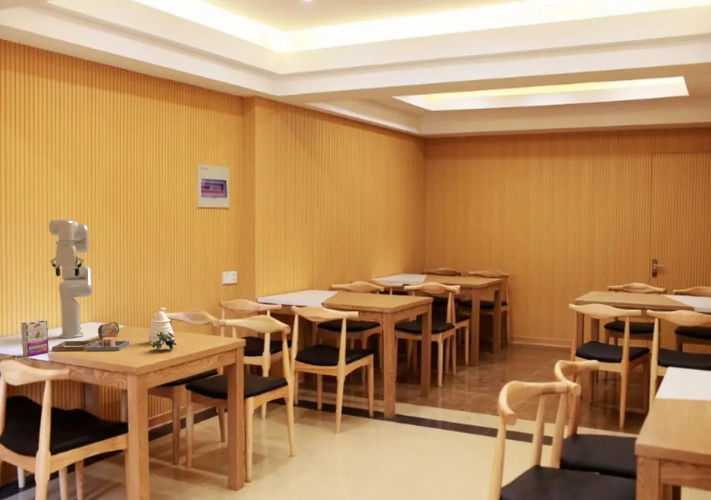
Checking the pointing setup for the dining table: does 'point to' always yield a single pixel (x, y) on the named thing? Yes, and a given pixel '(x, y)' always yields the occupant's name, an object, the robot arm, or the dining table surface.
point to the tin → (108, 330)
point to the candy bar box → (34, 337)
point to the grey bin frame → (112, 348)
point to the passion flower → (166, 339)
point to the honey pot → (160, 326)
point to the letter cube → (108, 341)
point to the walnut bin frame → (81, 348)
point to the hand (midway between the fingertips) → (67, 275)
